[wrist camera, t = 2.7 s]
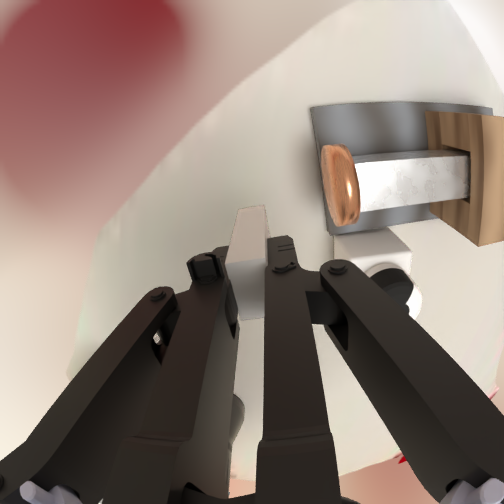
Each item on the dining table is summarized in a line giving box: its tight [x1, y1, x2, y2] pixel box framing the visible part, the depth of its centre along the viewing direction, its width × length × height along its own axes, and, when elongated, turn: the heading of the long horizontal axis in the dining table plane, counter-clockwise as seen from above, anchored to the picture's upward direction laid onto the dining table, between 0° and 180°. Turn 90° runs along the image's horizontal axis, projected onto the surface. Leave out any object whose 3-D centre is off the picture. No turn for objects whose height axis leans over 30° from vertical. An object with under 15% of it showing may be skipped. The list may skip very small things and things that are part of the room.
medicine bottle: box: [334, 227, 422, 320], centre depth 29 cm, size 7×7×12 cm
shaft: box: [321, 144, 471, 227], centre depth 23 cm, size 18×7×7 cm, turn 101°
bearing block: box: [310, 102, 504, 247], centre depth 23 cm, size 25×14×12 cm, turn 101°
